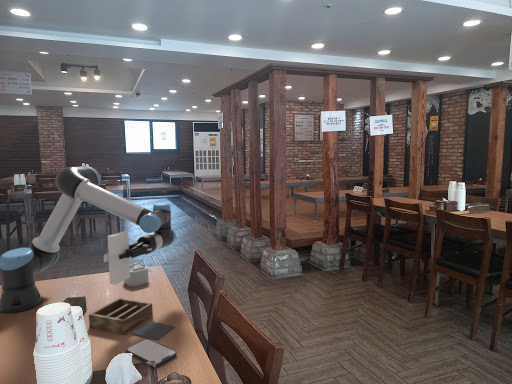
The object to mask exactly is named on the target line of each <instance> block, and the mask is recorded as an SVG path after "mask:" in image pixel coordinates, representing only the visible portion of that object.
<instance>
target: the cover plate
mask: <svg viewBox="0 0 512 384" xmlns="http://www.w3.org/2000/svg"><path fill="white" fill-rule="evenodd" d="M129 245H130V244H129V232H128V231H120V232H117V233H113V234H109V235H107V251H108V252H107V253H108V254H109V261H108V270H109V271H108V272H109V274H108V275H109V284H110V285H113V286H114V285H115V286H116V285H118V284H120V283H122V282H124V280H126V279H128V278H130V264H131V263H130V257H129V258H124V259H122V260H119V261H117V262H114V263H111V255H114V254H116V253H119V252H122V251H125V253H126V249H129Z"/></svg>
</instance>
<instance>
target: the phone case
mask: <svg viewBox="0 0 512 384" xmlns="http://www.w3.org/2000/svg"><path fill="white" fill-rule="evenodd" d="M125 353H126V354H127V353H132V354H133V356H132V357H133V358H134V359H136V360H139V361H140V362H142V363H144V362H148V361H153V360H154V361H155V362H156V367H157V368H156V369H159V368H160V367H163V366H164V365H165V364H167V363H168V362H170V361H172V360H175V359H176V358H177V356H178V355H177V351H176V350H173V349H171V348H169V347H167V346H164V345H163V344H159V343H157V342H155V341H153V340H152V339H150V338H146V339H143V340H140V341H139V342H137V343H134V344H133V345H131V346H129V347H127V348H126V349H125Z"/></svg>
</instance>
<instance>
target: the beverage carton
mask: <svg viewBox="0 0 512 384" xmlns="http://www.w3.org/2000/svg"><path fill="white" fill-rule="evenodd" d="M86 299H87V298H86V296H75V297H66V298H65V299H64V300H63V301H62V302H65V303H69V304H70V305H71V306H80V307H81V308H82V310H83V315H84V314H85V312H86V311H87V310H88V308H87V307H88V306H87V300H86Z"/></svg>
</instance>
